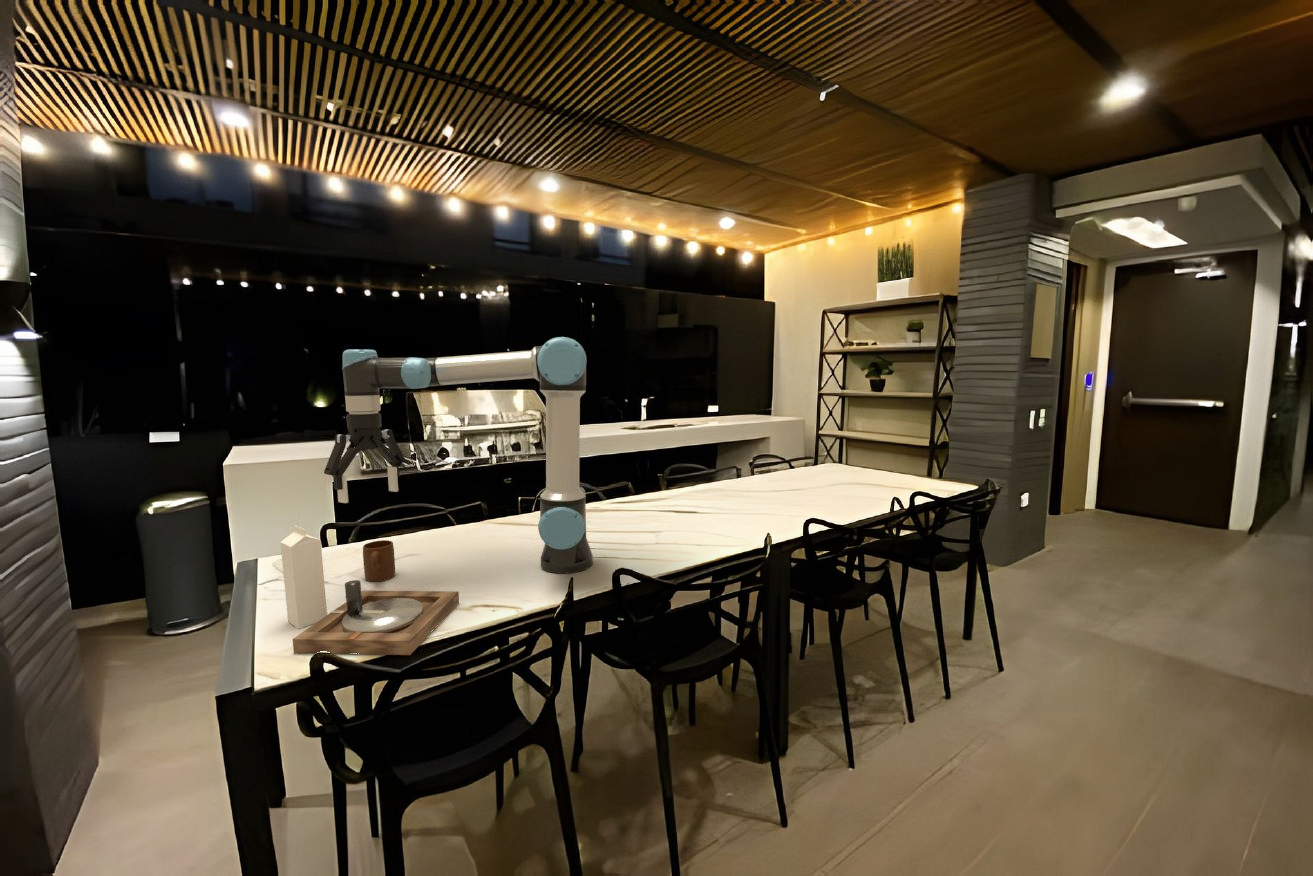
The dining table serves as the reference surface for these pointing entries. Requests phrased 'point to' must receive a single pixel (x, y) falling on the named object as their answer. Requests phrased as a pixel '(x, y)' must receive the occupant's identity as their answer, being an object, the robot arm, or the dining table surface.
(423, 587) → the dining table surface
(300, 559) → the milk
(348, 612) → the dial
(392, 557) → the mug
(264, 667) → the dining table surface
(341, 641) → the board
